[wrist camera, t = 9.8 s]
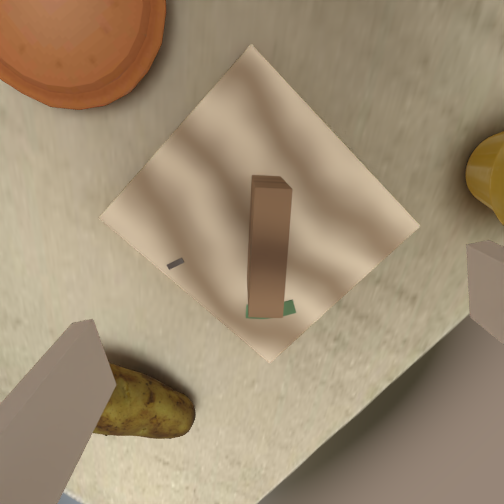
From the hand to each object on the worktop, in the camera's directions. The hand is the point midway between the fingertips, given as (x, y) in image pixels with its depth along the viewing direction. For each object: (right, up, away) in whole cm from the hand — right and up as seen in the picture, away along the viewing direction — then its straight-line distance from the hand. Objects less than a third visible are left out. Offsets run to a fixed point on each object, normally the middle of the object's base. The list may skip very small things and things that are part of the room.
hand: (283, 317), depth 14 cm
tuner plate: (0, +5, +24) cm, 25 cm away
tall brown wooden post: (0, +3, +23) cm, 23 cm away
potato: (-13, -12, +29) cm, 34 cm away
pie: (-15, +22, +19) cm, 33 cm away
